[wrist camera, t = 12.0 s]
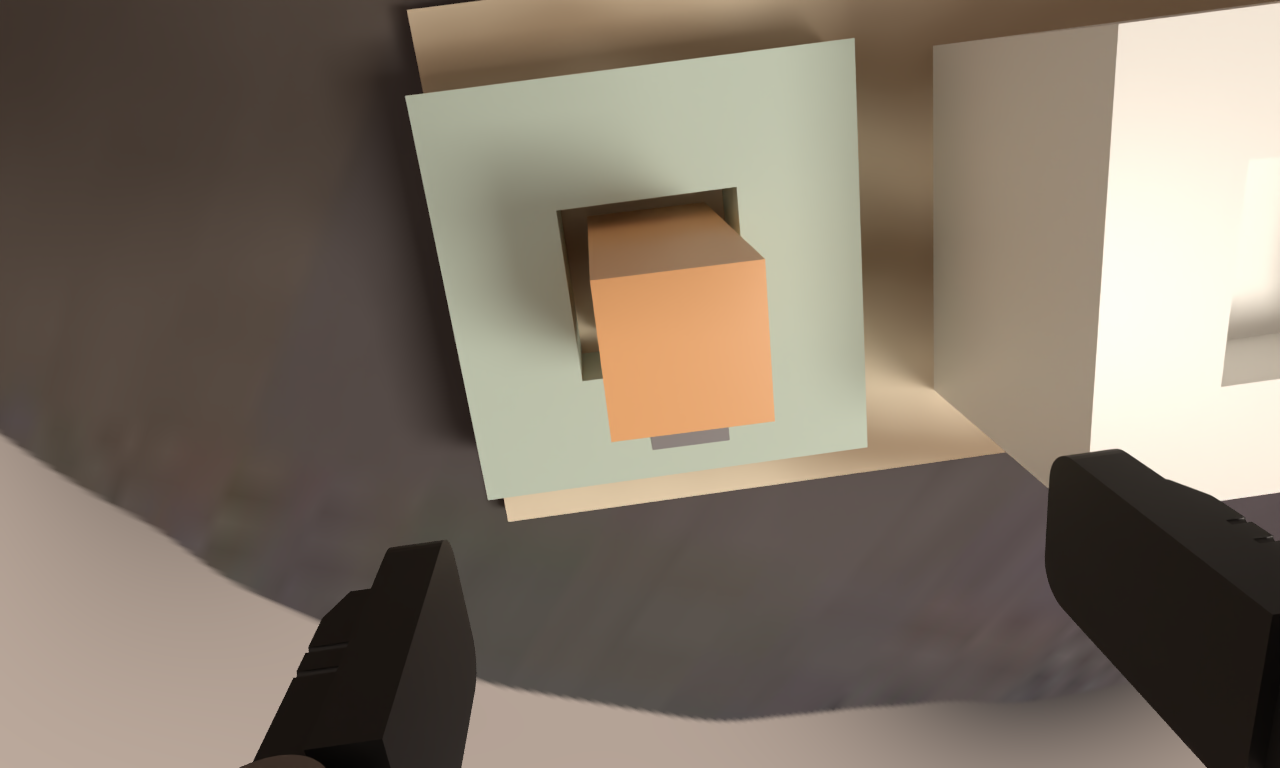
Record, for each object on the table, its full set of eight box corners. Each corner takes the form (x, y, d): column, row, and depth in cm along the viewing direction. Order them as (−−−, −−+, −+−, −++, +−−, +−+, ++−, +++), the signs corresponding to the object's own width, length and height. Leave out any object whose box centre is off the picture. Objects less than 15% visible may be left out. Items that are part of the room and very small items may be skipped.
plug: (587, 216, 28) (589, 280, 19) (704, 201, 28) (765, 259, 19) (604, 350, 30) (615, 472, 21) (715, 337, 30) (776, 451, 21)
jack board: (412, 12, 27) (406, 9, 26) (1296, -100, 27) (1321, -107, 26) (510, 509, 33) (508, 521, 32) (1231, 408, 33) (1250, 417, 33)
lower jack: (423, 95, 27) (404, 96, 24) (825, 43, 27) (854, 37, 24) (496, 462, 31) (488, 500, 28) (841, 414, 31) (867, 447, 29)
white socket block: (932, 45, 27) (1118, 23, 18) (1293, -1, 27) (1663, -47, 18) (933, 389, 31) (1085, 519, 22) (1247, 346, 32) (1530, 456, 22)
